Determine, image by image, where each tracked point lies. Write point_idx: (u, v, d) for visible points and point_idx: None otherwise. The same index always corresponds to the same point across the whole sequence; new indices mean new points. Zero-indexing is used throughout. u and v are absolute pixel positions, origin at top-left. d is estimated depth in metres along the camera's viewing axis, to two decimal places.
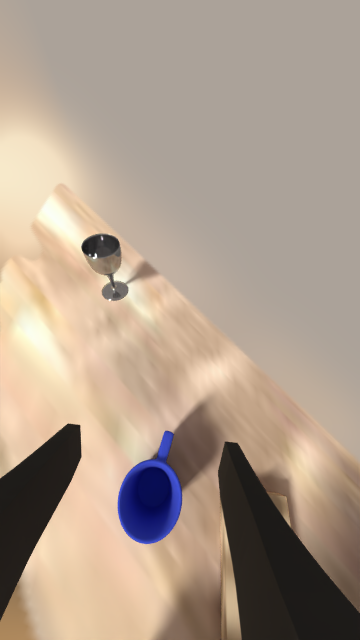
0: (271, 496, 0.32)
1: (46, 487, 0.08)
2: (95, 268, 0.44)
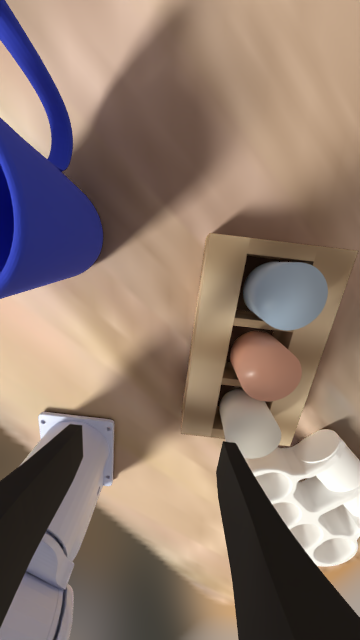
0: (321, 249, 0.14)
1: (49, 487, 0.08)
2: None
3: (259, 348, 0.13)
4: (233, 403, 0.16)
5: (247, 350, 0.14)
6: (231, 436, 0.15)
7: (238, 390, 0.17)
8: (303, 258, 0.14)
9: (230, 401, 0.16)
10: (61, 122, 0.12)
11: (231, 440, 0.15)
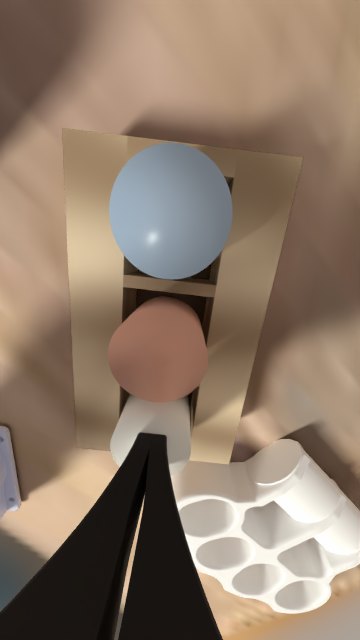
0: (244, 155, 0.08)
1: (138, 498, 0.08)
2: None
3: (136, 314, 0.08)
4: (132, 399, 0.11)
5: None
6: (118, 448, 0.10)
7: None
8: None
9: (132, 397, 0.12)
10: None
11: (119, 453, 0.10)
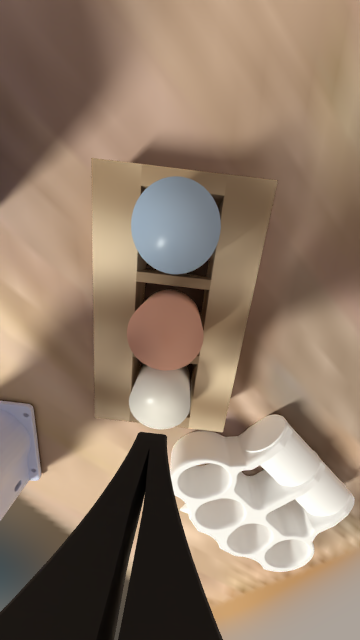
0: (231, 178, 0.11)
1: (138, 498, 0.08)
2: None
3: (148, 300, 0.10)
4: (145, 369, 0.14)
5: None
6: (135, 403, 0.13)
7: None
8: (210, 191, 0.11)
9: (144, 367, 0.15)
10: None
11: (135, 408, 0.13)
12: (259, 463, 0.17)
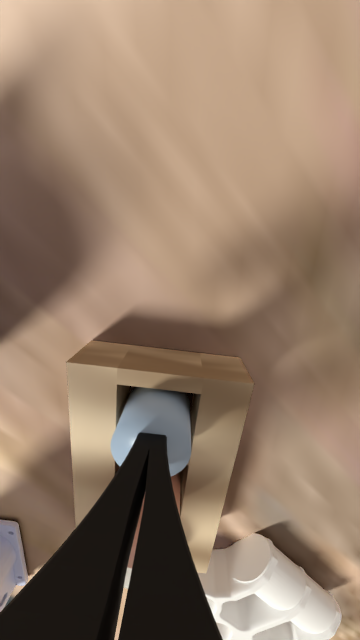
0: (208, 381, 0.11)
1: (138, 498, 0.08)
2: None
3: None
4: None
5: None
6: None
7: None
8: (187, 391, 0.11)
9: None
10: None
11: None
12: (244, 596, 0.17)
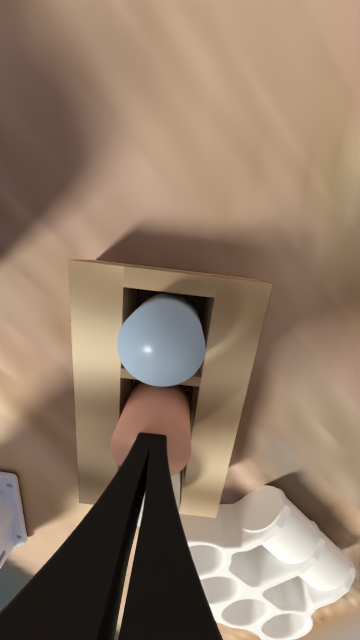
0: (222, 282, 0.10)
1: (138, 498, 0.08)
2: None
3: (132, 415, 0.10)
4: None
5: (124, 413, 0.10)
6: None
7: None
8: (199, 293, 0.10)
9: None
10: None
11: None
12: (255, 545, 0.16)
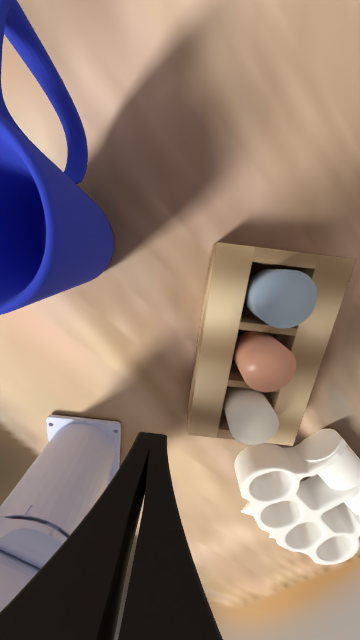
0: (321, 257, 0.14)
1: (138, 498, 0.08)
2: None
3: (259, 344, 0.15)
4: (235, 395, 0.18)
5: (248, 346, 0.15)
6: (234, 424, 0.16)
7: None
8: (305, 266, 0.15)
9: (233, 394, 0.18)
10: (78, 139, 0.13)
11: (234, 428, 0.17)
12: (320, 470, 0.20)
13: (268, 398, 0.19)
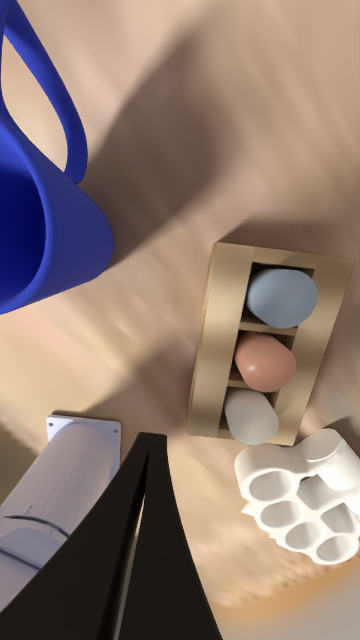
0: (321, 257, 0.14)
1: (138, 498, 0.08)
2: None
3: (259, 344, 0.15)
4: (235, 395, 0.18)
5: (248, 346, 0.15)
6: (234, 424, 0.16)
7: None
8: (305, 266, 0.15)
9: (233, 394, 0.18)
10: (78, 139, 0.13)
11: (234, 428, 0.17)
12: (320, 470, 0.20)
13: (268, 398, 0.19)
